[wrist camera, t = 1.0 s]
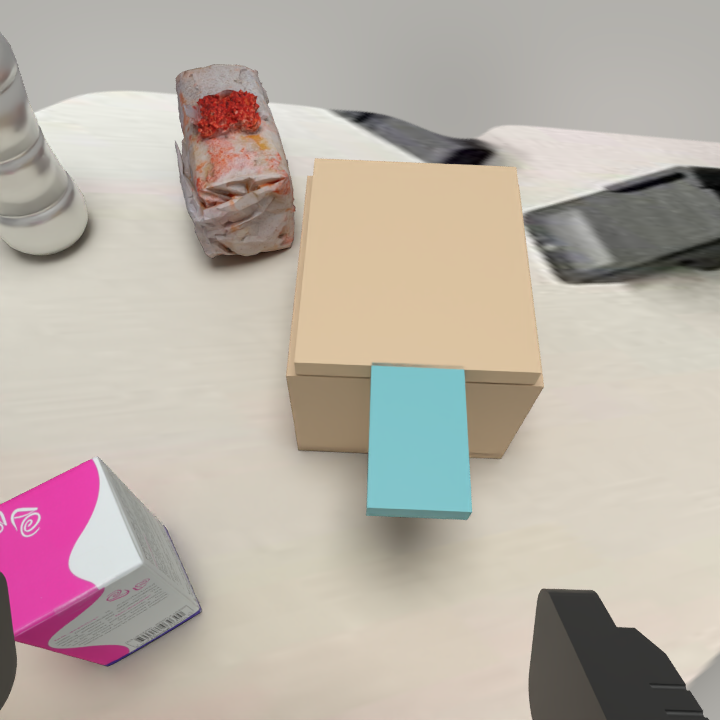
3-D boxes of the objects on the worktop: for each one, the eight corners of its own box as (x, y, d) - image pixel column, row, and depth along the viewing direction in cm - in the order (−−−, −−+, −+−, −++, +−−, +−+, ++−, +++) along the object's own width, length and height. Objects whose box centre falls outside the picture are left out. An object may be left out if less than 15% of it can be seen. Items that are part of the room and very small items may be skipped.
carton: (298, 450, 40) (286, 375, 32) (314, 275, 47) (307, 175, 39) (500, 458, 40) (543, 386, 32) (486, 283, 47) (518, 184, 39)
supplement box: (164, 522, 38) (100, 450, 28) (204, 612, 35) (150, 569, 26) (69, 572, 36) (-34, 516, 26) (104, 670, 34) (5, 649, 24)
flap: (282, 512, 28) (280, 503, 27) (315, 173, 39) (314, 158, 38) (551, 523, 28) (559, 515, 27) (511, 181, 39) (516, 167, 38)
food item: (309, 257, 48) (302, 157, 40) (206, 279, 47) (175, 181, 39) (270, 138, 55) (256, 31, 46) (178, 155, 54) (147, 48, 45)
